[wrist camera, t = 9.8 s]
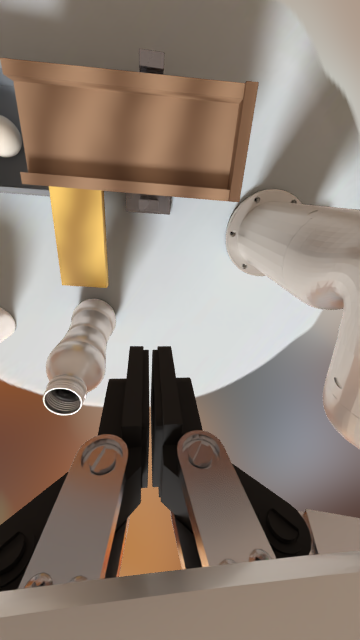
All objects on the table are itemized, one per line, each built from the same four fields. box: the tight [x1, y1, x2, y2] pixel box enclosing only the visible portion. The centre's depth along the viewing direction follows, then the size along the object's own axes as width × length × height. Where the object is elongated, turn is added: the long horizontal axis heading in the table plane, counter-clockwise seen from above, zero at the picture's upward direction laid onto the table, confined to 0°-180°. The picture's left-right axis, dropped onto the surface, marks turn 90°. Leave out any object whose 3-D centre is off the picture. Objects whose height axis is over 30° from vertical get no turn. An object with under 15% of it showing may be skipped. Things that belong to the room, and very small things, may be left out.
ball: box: [0, 115, 22, 157], centre depth 29 cm, size 4×4×4 cm
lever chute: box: [0, 58, 259, 288], centre depth 28 cm, size 21×19×6 cm
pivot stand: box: [126, 49, 171, 215], centre depth 28 cm, size 6×14×11 cm, turn 175°
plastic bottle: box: [43, 299, 116, 415], centre depth 34 cm, size 6×7×20 cm
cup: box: [0, 60, 50, 196], centre depth 26 cm, size 11×11×12 cm
